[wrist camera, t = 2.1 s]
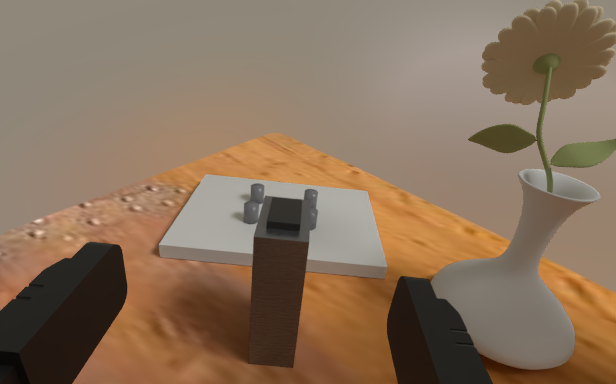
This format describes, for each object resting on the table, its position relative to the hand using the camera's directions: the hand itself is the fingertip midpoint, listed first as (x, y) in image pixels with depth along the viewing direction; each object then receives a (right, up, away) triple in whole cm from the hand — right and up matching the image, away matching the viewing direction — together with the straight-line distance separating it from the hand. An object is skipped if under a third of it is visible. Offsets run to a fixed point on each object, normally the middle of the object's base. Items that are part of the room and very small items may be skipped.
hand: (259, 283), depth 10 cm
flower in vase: (+17, -9, +21) cm, 29 cm away
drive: (-1, -9, +17) cm, 19 cm away
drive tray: (-2, -1, +31) cm, 31 cm away
